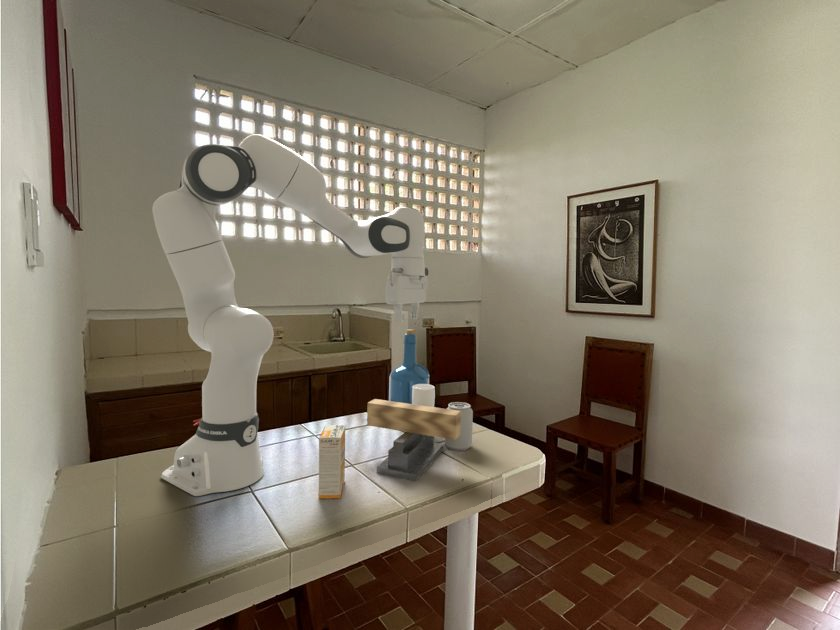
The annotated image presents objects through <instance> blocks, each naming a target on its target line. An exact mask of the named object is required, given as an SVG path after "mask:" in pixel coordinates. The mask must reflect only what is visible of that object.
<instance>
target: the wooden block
mask: <svg viewBox="0 0 840 630" xmlns="http://www.w3.org/2000/svg"><path fill="white" fill-rule="evenodd" d="M366 407H367V408H366V409H367V410H366V411H367V412H366V421H367V422H366V426H369V427H374V428H381V429H388V430H392V431H400V432H403V433H405V432H410V433H416V434H422V435H428V436H434V438H440V439H444V440H445V439H451V440H456V439H457V438H458V437H459V436H460V426H461V411H457V410H450V409H447V408H441V407H436V406H434V407H429V406H422V405H415V404H408V403H400V402H393V401H389V400H387V399H386V400H385V399H378V398H374V399H372V400H370V401H368V402H367V406H366Z"/></svg>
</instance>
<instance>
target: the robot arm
mask: <svg viewBox="0 0 840 630" xmlns="http://www.w3.org/2000/svg"><path fill="white" fill-rule="evenodd" d="M248 188H253V189H254V188H255V189H257V190H259V191H262V192H264V193H265V194H267V195H269V196H270V197H272V198H273V199H274V200H276V201H278V202H280V203H281V204H283V205H285V206H287V207H289V208H291V209H292V210H294V211H297V212H298V213H300V214H302V215H303V216H306V217H307V218H308V219H310V220H311V221H313V222H314V223H316V224H317V225H319V226H320V227H322V228H323V229H325V231H328V232H329V233H330V234H332V235H334V237H336V238H337V239H339V240H340V242H341V243H343V245H344V246H345V248H346V249H347V250H348V252H350V253H351V254H352V255H353V256H355V257H356V258H358V259H359V258H360V259H367V258H371V257H377V256H378V257H379V256H383V255H388V254H390V255H391V269H390V270H391V271H390V273H389V275H388V276H387V278H386V283H385V293H384V294H385V297H384V299H385V303H386V305H392V306H393V307H392V308H393V309H392V310H393V312H394V316H395V317H394V319H395V320H394V321H395V322H396V323H397V322H398V323H400V322H401V323H402V322H404V318H405V317H404V315H405V314H403V306H404V305H408V304H410V308H411V309H410V312H409V319H410V320H417V319H418V313H419V309H420V303H421V304H422V303H425V302H426V300H427V296H428V285H429V284H428V277H430V269H429V268H428V267H427V266H426V263H425V255H424V245H425V242H426V241H425V239H426V238H425V237H426V236H425V235H426V233H425V232H426V230H425V220H424V216H423V214H422V212H421V211H420V210H418V209H417V208H413V207H410V206H398V207H396V208H395V209H394V210H392V211H390V212H387V213H386V214H383V215H380V216H376V217H372V218H370V219H365V220H362V219H361V220H360V219H355V218H352V217H350V216H349V215H347V214H346V213H345V212H344V211H342V210H341V209H339V208H338V207H337V206H335V205H334V203H331V201H329V199H328V198H327V195H326V193H327V183H326V180H325V177H324V174H323V173H322V172H321V171H320V170H319V169H318V168H317V167H316V166H315V165H314V164H313V163H311V162H310V161H309V160H307V159H306V158H304V157H303V156H302V155H300V154H298V153H297V152H296V151H293V149H290V148H289V147H287V146H285V145H283V144H282V143H280V142H278V141H276V140H274V139H273V138H272V139H271V138H270V137H267V136H266V135H263V134H259V133H253V134H251V135H248V136H246V137H245V138H244V139H242V141H241V142H240V143H239V145H238V146H234V145H233V146H232V145H224V144H215V143H214V144H213V143H211V144H204V145H200V146H198V147H196V148H195V149H194V150H193V151H192V152H191V153H189V154H188V155H187V157H185V159H184V162H183V164H182V171H181V177H180V183H179V188H177V189H176V190H172V191H169V192H166V193H164V194H162V195H160V196H159V197H158V198H157V199H155V200H154V201H153V204H152V211H151V212H152V217H153V221H154V225H155V230H156V232H157V237H158V238H159V241H160V244H161V245H160V246H161V247H162V249H163V252H164V254H165V256H166V258H167V262H168V263H169V267H170V269H171V271H172V273H173V276H174V278H175V279H176V282H177V284H178V287H179V291H180V293H181V296H182V297H181V298H182V300H183V305H184V309H185V314H186V318H187V321H188V324H187V332H188V335H189V337H190V339H191V340H192V341H193V342H194V343H195V344H196V345H197V346H198V347H199V348H200V349H201V350H204V351H206V352H209V353H210V354H211V355H210V356H211V358H210V364H209V369H208V373H207V375H206V378H205V379H204V380H203V382H202V385H201V397H202V398H201V407H202V408H201V409H202V410H201V411H202V412H201V413H202V417H201V418H198V419H195V420H193V421H192V422H193V423H194V422H195V423H194V424H193V426H197V425H198V426H197V428H196V429H197V430H196V433H195V434H194V435H193V436H191V437H190V438H189V439H187V440H186V441H185V442H184V443H183V444H181V445H180V446H179V447H178V448H177V449H176V451H175V453H174V457H173V465H171V466H169V467H168V468H166V469H165V470H164V471H162V473H161V477H160V478H161V479H162V480H164V481H166V482H168V483H169V484H171V485H172V486H175V487H177V488H179V489H180V490H182V491H184V492H186V493H188V494H189V495H192V496H194V497H200V496H205V495H208V494H214V493H222V492H223V493H224V492H230V491H235V490H240V489H242V488H246V487H248V486H250V485H252V484H255V483H256V482H258V481H259V480H260V479H261V478H263V477H264V474H265V470H264V467H263V463H264V461H263V457H262V456H261V450H260V440H259V434H258V431H259V422H260V418H259V414H258V412H257V383H258V382H257V381H258V375H259V373H260V367H261V363H262V361H263V357H264V355H265V354H266V353H267V352H268V351H269V349H270V348H271V347H272V344H273V341H274V336H275V334H274V328H273V325H272V322H270V320H269V319H268V318H266V316H265V315H262V314H261V313H259V312H257V311H256V310H253V309H251V308H247V307H239V305H238V304H237V301H236V300H237V299H236V295H235V294H236V293H235V286H234V283H235V279H236V271H235V268H234V267H233V266H234V265H233V264H232V260H231V259H230V256H229V254H228V251H227V250H228V249H227V248H226V246H225V243H224V239H223V237H222V234H221V233H220V230H219V228H218V225H217V221H216V211H217V208H218V206H221V205H222V206H223V205H225V204H229V203H230V202H232V201H235V199H237V198H239V197H240V196H241V195H242V194H243V193H244V192H246V190H247V189H248Z"/></svg>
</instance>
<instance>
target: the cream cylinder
mask: <svg viewBox="0 0 840 630" xmlns="http://www.w3.org/2000/svg"><path fill="white" fill-rule="evenodd" d="M435 388H436V387H435V386H434V385H432V384H430V383H429V384H416V385H413V386H412V404H415V405H422V406H429V407H435V399H436V389H435Z"/></svg>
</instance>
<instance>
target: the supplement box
mask: <svg viewBox="0 0 840 630" xmlns="http://www.w3.org/2000/svg"><path fill="white" fill-rule="evenodd" d="M345 467H346V425H345V424H327V425H325V426H324V427H323V429H322V431H321V433H320V435H319V437H318V491H317V492H318V499H326V500H327V499H340V498H341V495H342V491H343V486H344V483H345V477H346V476H345V475H346V474H345V472H346V470H345V469H346V468H345Z"/></svg>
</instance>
